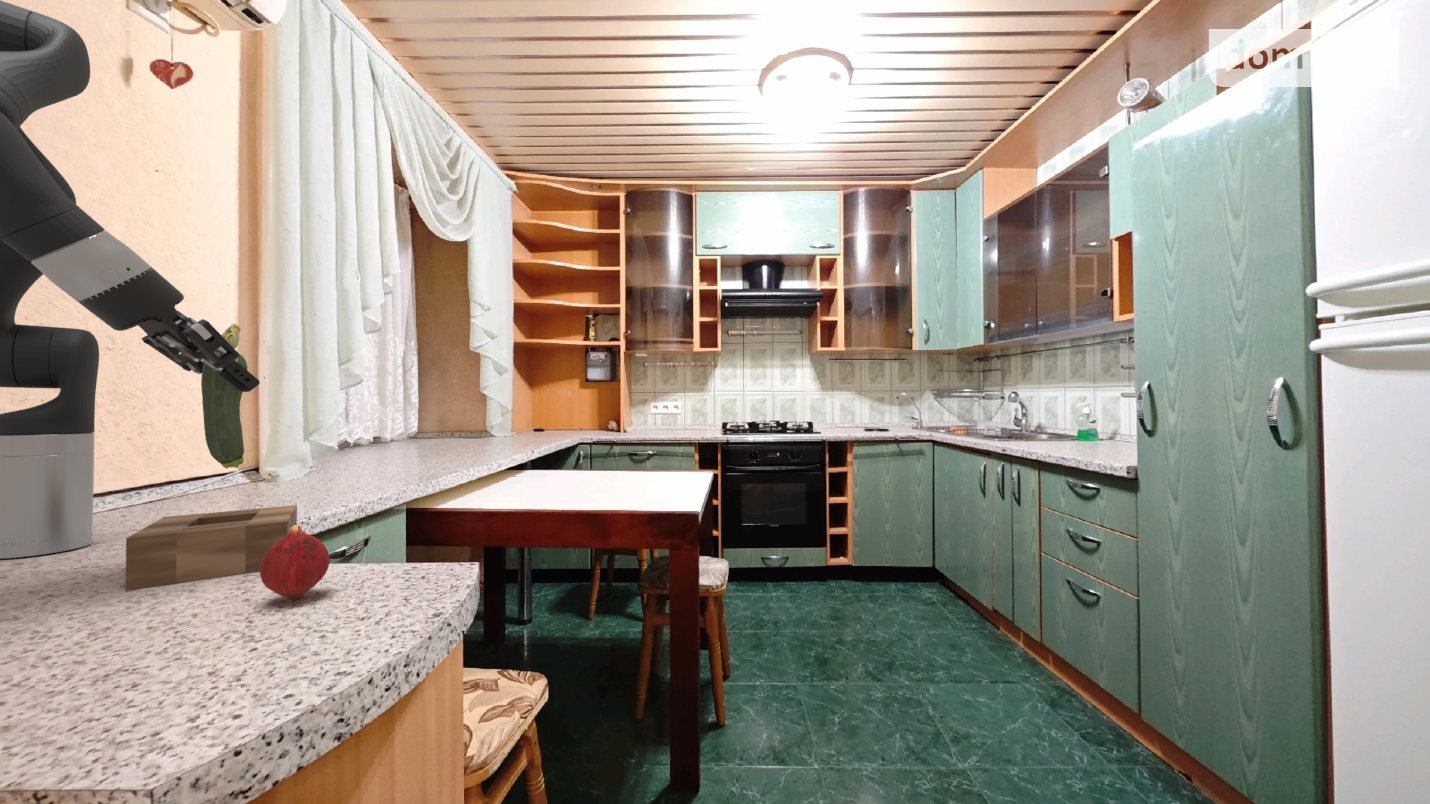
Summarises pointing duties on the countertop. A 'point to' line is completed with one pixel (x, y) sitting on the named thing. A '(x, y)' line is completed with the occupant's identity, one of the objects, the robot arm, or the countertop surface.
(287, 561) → the onion
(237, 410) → the vegetable
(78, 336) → the robot arm
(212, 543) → the socket block
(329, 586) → the countertop surface
